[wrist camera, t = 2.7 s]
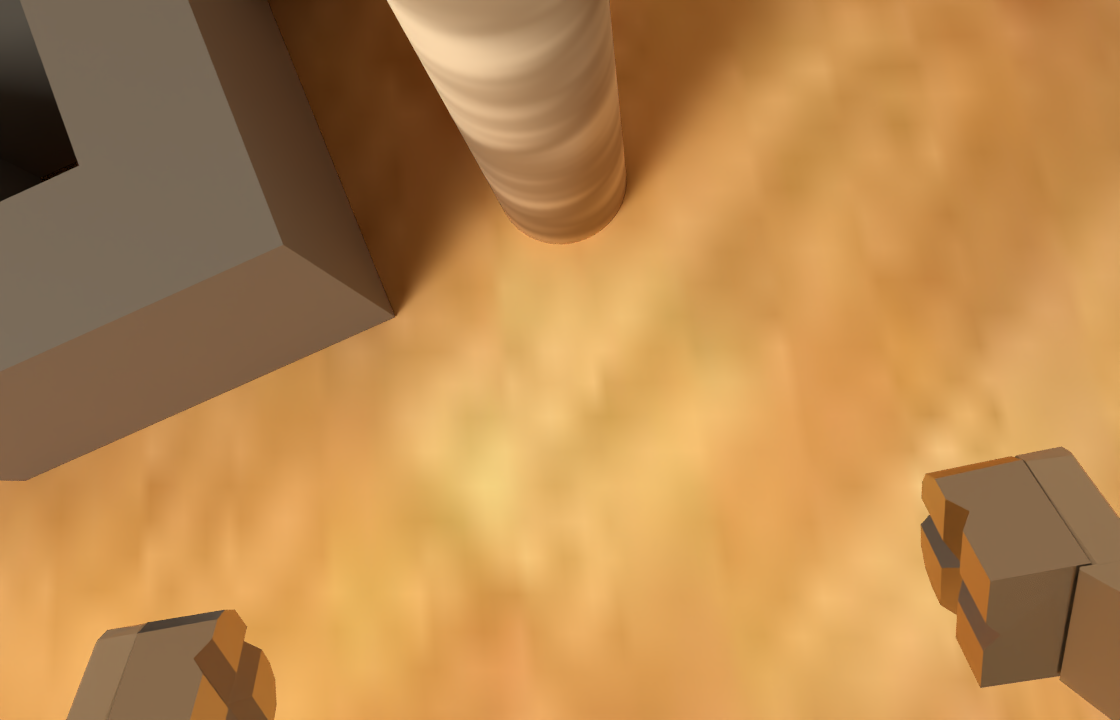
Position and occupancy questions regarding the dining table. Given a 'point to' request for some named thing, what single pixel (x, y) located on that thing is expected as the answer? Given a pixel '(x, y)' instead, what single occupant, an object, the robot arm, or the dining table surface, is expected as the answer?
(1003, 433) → the dining table surface
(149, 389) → the hole block
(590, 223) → the tall pin
